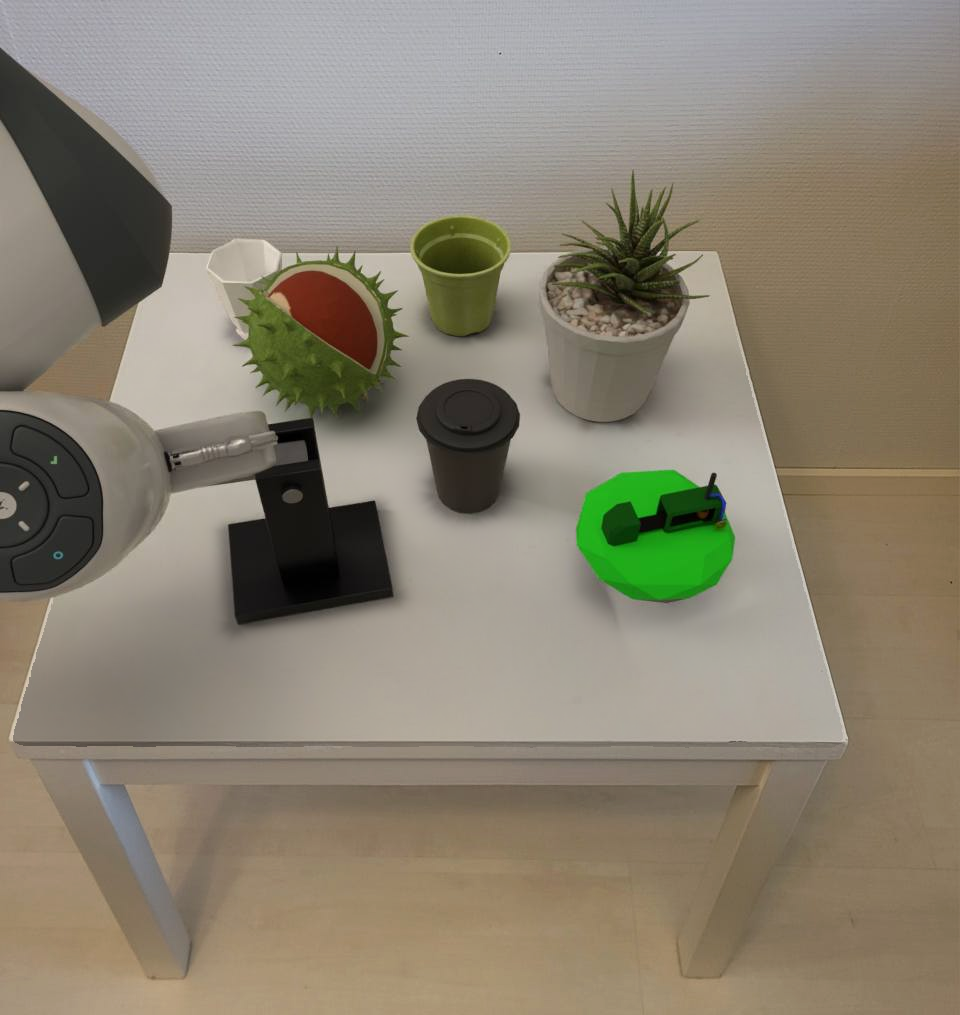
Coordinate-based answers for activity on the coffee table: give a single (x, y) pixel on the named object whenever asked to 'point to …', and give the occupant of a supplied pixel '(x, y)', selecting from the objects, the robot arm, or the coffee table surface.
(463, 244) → the plant pot
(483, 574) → the coffee table surface
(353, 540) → the black lever stand
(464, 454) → the coffee cup
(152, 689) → the coffee table surface
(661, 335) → the potted plant
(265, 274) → the cup
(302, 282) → the chestnut
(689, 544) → the green rounded piece
